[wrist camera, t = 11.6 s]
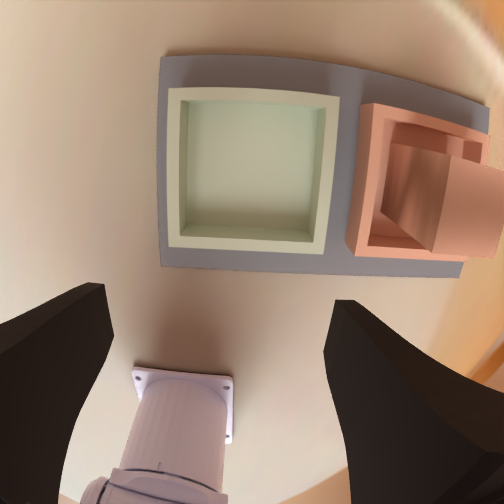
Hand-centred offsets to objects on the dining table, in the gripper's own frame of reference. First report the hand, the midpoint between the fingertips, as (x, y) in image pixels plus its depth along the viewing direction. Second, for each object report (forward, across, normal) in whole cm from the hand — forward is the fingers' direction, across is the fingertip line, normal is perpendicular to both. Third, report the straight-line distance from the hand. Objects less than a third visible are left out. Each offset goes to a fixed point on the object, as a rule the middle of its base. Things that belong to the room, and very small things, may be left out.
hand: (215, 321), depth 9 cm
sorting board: (+9, -6, -4) cm, 11 cm away
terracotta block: (+8, -10, -4) cm, 14 cm away
